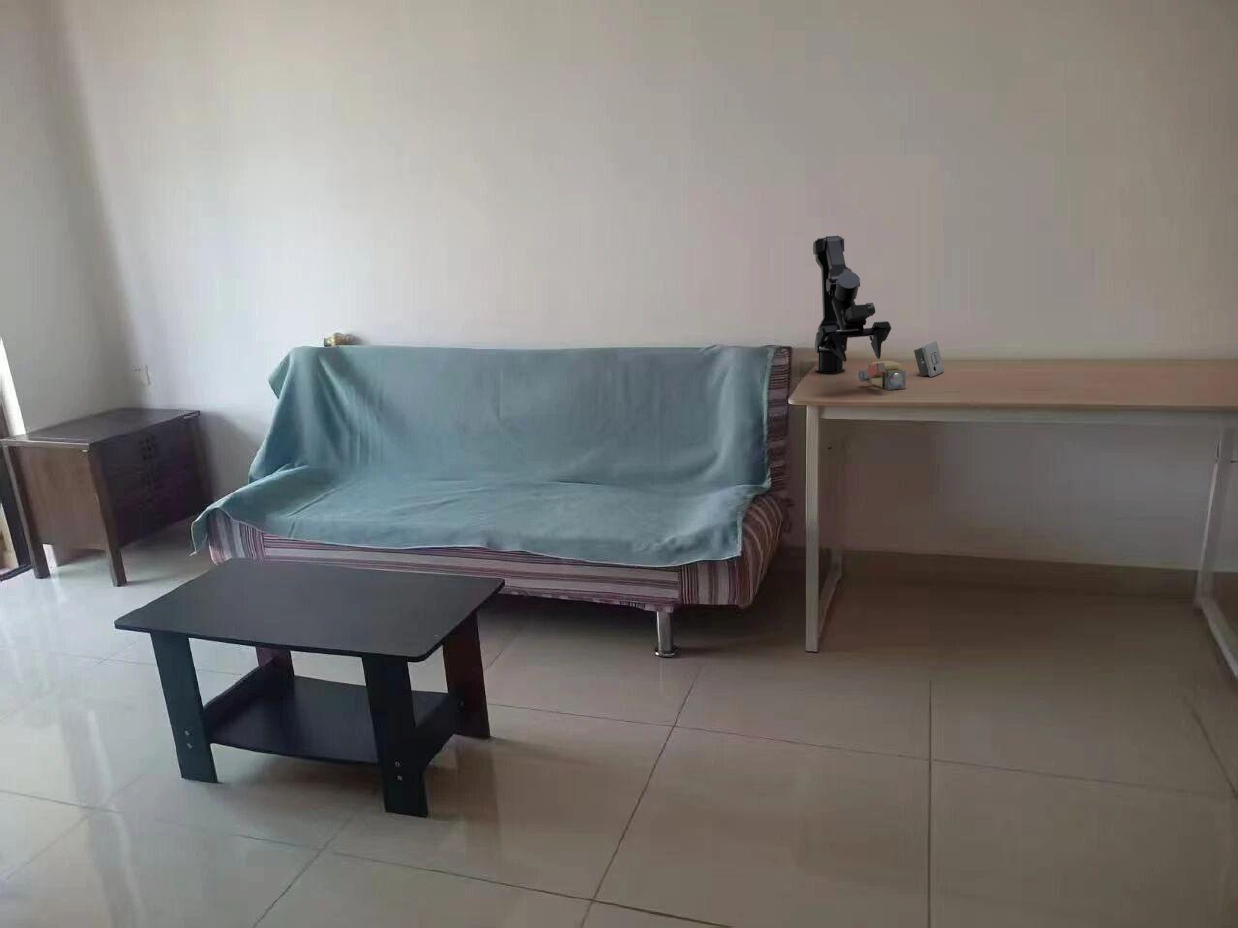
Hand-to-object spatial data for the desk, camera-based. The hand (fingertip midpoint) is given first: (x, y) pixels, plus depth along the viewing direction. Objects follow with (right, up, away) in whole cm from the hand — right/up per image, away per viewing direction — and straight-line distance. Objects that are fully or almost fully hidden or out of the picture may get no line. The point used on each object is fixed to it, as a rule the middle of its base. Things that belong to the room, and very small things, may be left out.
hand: (862, 359), depth 249 cm
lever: (+4, -3, +14) cm, 15 cm away
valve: (+9, -5, +14) cm, 18 cm away
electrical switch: (+26, -2, +26) cm, 36 cm away
